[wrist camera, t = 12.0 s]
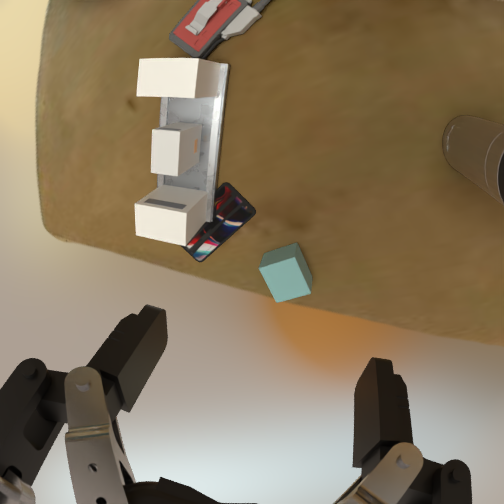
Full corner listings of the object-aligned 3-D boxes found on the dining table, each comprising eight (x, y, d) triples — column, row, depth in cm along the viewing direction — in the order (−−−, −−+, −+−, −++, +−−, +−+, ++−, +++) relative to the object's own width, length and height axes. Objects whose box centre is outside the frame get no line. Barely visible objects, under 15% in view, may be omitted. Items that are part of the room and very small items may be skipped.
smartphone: (258, 212, 50) (199, 264, 57) (258, 210, 50) (201, 262, 57) (225, 180, 48) (170, 236, 55) (226, 178, 49) (172, 235, 56)
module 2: (208, 191, 49) (186, 212, 41) (206, 220, 51) (185, 246, 44) (162, 184, 50) (134, 203, 42) (162, 212, 52) (136, 235, 45)
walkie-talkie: (209, 74, 41) (300, -18, 31) (197, 74, 38) (297, -28, 28) (169, 43, 40) (254, -47, 30) (155, 41, 36) (247, -58, 26)
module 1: (221, 63, 39) (198, 58, 31) (217, 96, 41) (194, 98, 34) (170, 61, 40) (139, 58, 32) (167, 93, 42) (136, 96, 34)
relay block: (297, 242, 51) (312, 276, 54) (264, 252, 54) (280, 285, 56) (294, 257, 47) (311, 293, 50) (258, 268, 49) (276, 302, 52)
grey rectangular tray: (230, 64, 40) (227, 64, 38) (214, 218, 52) (211, 222, 51) (168, 62, 41) (163, 62, 39) (160, 208, 53) (156, 211, 52)
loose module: (202, 124, 44) (180, 131, 37) (199, 162, 47) (177, 176, 40) (177, 121, 44) (152, 128, 37) (175, 159, 47) (150, 172, 40)
